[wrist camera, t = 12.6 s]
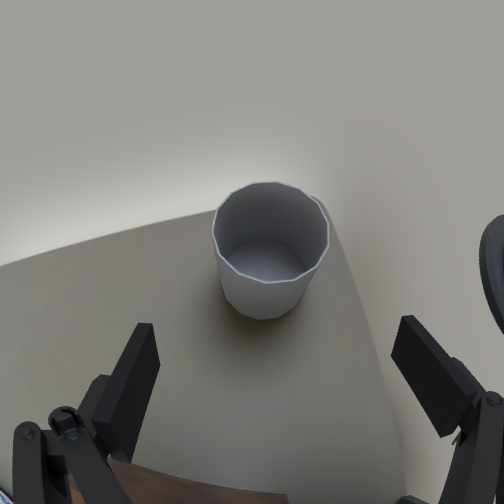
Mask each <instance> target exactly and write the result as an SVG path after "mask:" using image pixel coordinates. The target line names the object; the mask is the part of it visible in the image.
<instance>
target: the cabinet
mask: <svg viewBox="0 0 504 504" xmlns="http://www.w3.org/2000/svg"><path fill="white" fill-rule="evenodd" d="M107 462H108V463H109V465H110V467H111V469H112V470H113V472H114V474H115V476H116V477H117V479H118V481H119V482H120V484H121V485H122V487H123V489H124V490H125V492H126V493H127V495H128V496H129V498H130V499H131V501H132V502H133V504H290V503H289V501H288V498H287V496H286V494H275V493H263V492H254V491H246V490H239V489H232V488H226V487H220V486H215V485H209V484H204V483H200V482H195V481H191V480H186V479H182V478H178V477H174V476H171V475H167V474H163V473H160V472H157V471H153V470H150V469H147V468H144V467H141V466H138V465H135V464H132V463H131V464H130V463H124V462H119V461H115V460H113V459H112V457H109V458H107ZM68 479H69V485H70V491H71V497H72V502H73V504H86V503H85V501H84V499H83V497H82V495H81V493H80V491H79V489H78V487H77V485H76V482H75V480H74V478H73V476H72V474H68Z"/></svg>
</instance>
